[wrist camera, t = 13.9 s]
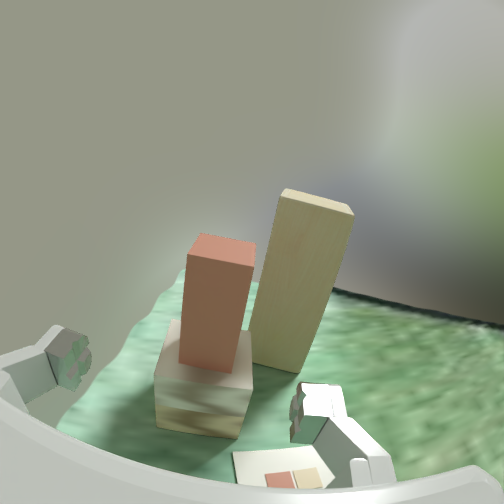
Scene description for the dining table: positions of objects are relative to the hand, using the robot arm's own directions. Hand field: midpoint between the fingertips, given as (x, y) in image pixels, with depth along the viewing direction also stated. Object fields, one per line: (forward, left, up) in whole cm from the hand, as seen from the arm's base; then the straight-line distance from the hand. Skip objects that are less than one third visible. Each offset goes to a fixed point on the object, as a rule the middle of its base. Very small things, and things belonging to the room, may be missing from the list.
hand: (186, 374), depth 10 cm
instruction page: (-10, -4, -18) cm, 21 cm away
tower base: (-1, -13, -18) cm, 22 cm away
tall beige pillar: (-10, -24, -18) cm, 31 cm away
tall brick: (-1, -13, -10) cm, 16 cm away
